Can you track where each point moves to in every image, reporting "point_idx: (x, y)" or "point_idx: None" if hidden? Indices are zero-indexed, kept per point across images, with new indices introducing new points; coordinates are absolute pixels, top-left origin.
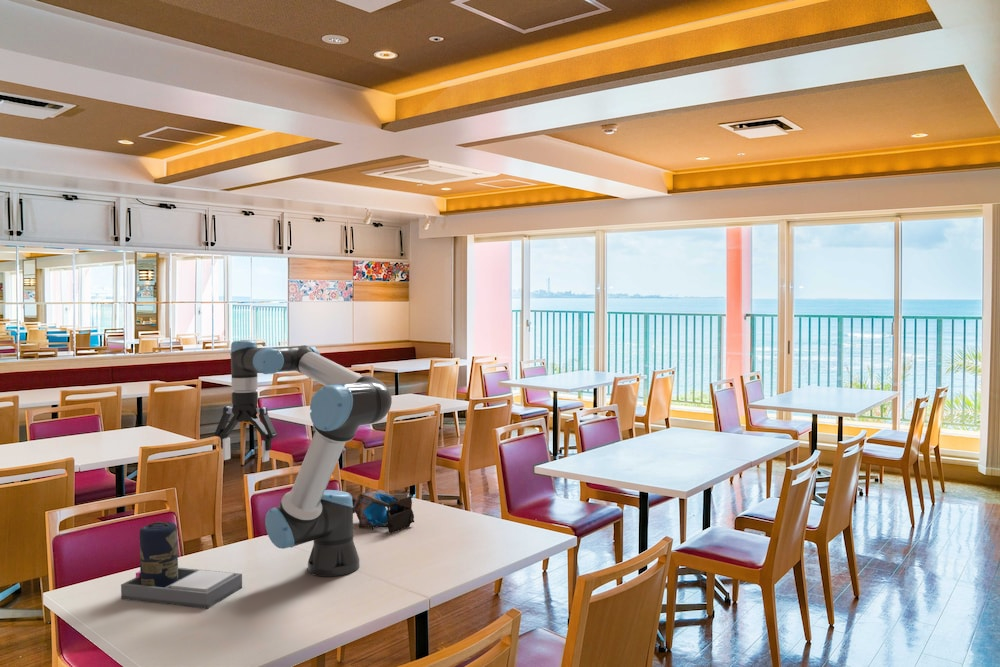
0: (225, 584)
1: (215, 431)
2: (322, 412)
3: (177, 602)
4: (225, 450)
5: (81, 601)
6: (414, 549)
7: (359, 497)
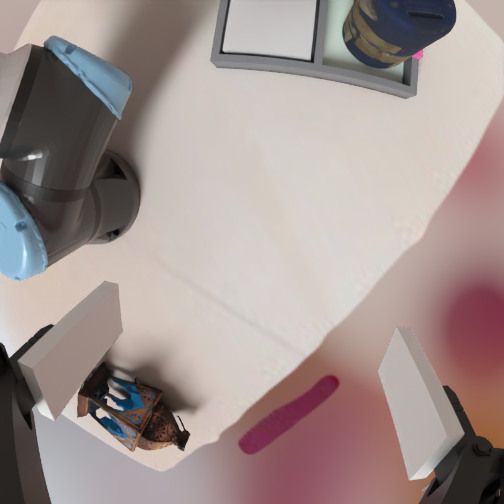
0: (218, 13)
1: None
2: None
3: None
4: (414, 371)
5: (459, 16)
6: (43, 293)
7: (155, 436)
